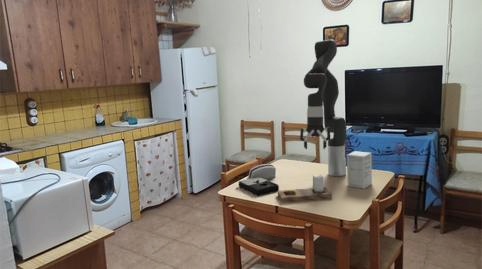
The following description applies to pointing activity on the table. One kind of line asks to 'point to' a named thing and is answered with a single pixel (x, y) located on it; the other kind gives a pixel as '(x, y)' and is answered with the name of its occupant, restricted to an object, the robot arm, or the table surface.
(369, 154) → the supplement box
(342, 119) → the robot arm
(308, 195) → the hole board
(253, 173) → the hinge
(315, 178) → the steel peg
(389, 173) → the table surface
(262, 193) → the multimeter
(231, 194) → the table surface
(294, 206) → the table surface
